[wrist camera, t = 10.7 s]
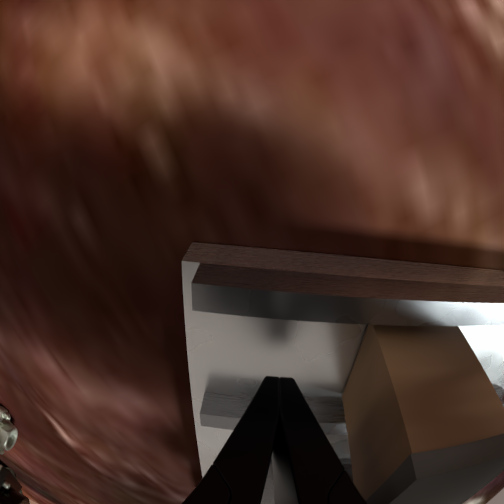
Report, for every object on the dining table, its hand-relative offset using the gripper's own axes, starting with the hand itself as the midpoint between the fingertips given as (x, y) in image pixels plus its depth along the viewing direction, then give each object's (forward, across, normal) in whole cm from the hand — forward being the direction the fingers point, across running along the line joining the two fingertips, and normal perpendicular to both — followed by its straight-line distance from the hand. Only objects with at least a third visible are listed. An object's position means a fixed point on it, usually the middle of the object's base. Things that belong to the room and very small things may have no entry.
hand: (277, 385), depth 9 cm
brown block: (+1, -4, 0) cm, 4 cm away
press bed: (+2, -4, +6) cm, 8 cm away
